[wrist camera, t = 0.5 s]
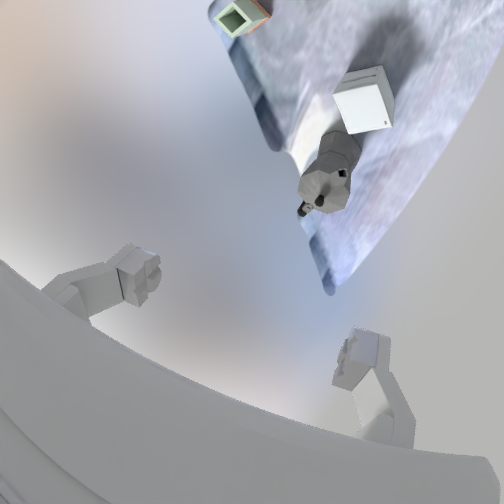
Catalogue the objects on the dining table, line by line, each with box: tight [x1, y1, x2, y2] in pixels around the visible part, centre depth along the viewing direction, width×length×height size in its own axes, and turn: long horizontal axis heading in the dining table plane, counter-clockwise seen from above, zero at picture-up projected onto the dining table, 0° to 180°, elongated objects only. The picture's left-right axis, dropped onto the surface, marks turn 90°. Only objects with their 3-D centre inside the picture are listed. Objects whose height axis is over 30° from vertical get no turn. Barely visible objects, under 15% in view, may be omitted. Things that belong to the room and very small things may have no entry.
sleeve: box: [214, 0, 271, 38], centre depth 40 cm, size 5×5×8 cm
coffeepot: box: [297, 131, 361, 217], centre depth 54 cm, size 15×9×18 cm, turn 154°
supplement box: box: [333, 65, 395, 134], centre depth 41 cm, size 7×7×13 cm
